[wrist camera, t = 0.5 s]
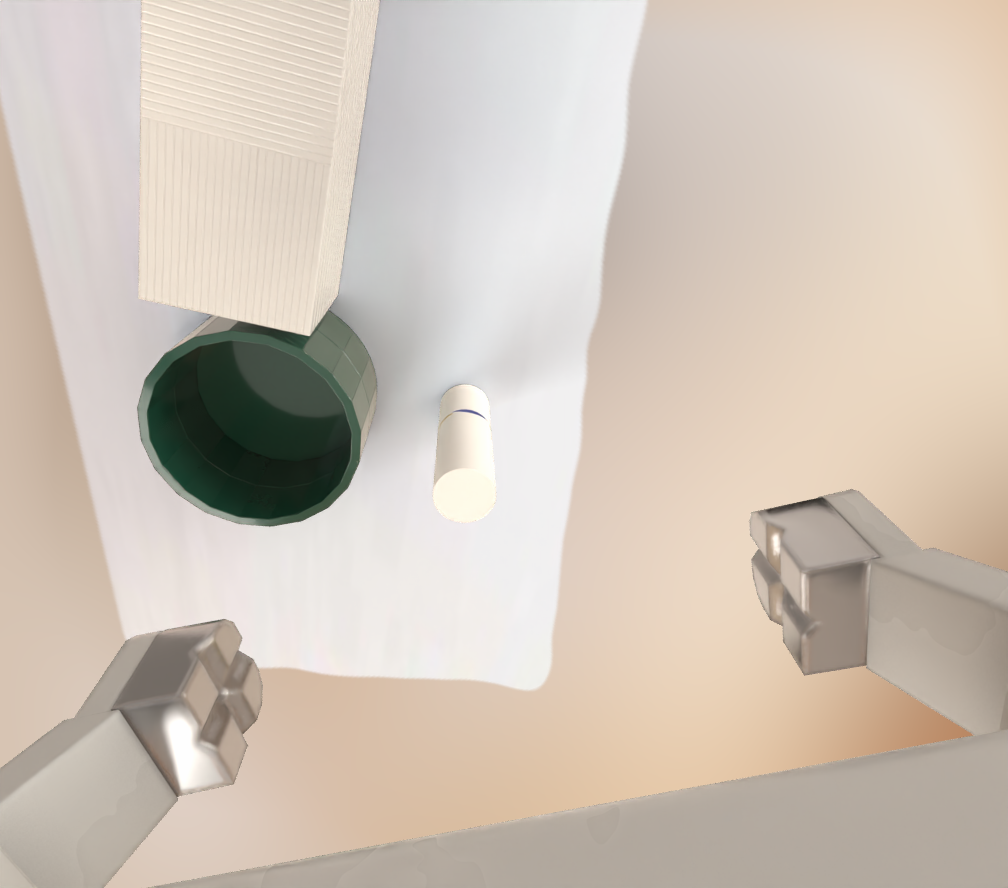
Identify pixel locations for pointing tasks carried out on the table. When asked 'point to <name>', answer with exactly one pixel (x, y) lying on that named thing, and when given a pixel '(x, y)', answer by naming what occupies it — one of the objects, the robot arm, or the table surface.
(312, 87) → the cream long block
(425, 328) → the table surface
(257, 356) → the pot
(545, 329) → the table surface
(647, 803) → the robot arm
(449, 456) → the tube
